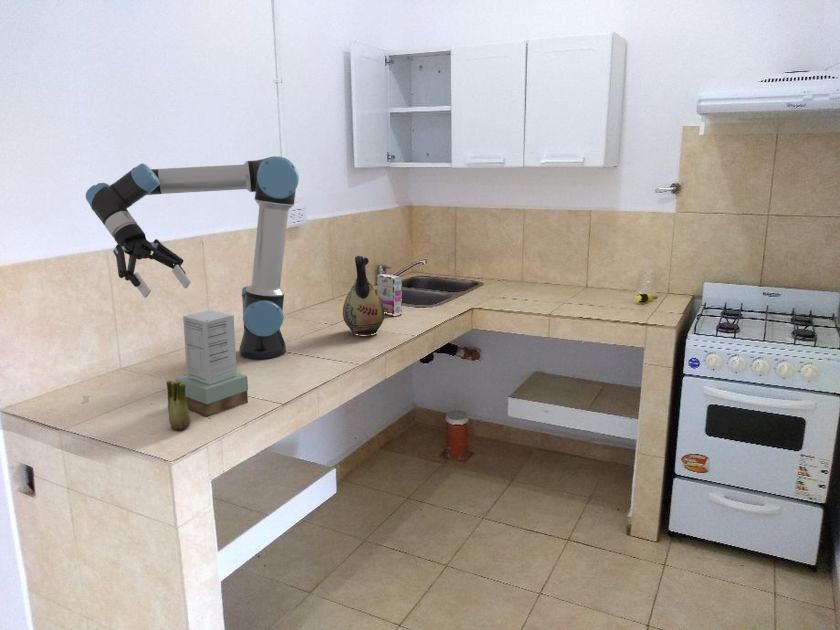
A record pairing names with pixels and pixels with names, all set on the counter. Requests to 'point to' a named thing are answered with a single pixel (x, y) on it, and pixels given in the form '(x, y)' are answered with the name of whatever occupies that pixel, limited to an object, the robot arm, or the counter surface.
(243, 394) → the tower base
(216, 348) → the supplement box
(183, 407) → the fennel bulb
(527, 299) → the counter surface
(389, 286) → the candy bar box
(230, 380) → the tower top
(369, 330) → the ceramic jug
